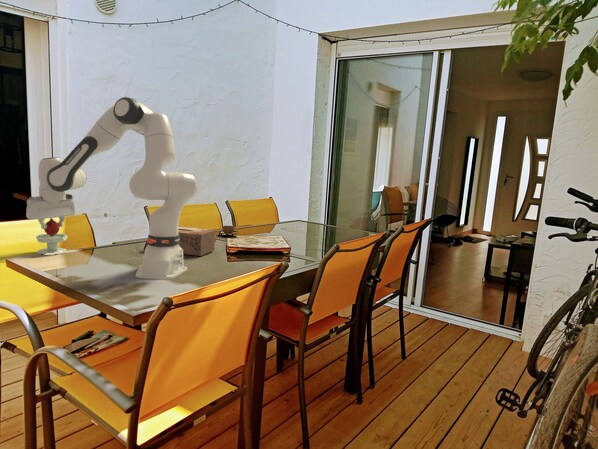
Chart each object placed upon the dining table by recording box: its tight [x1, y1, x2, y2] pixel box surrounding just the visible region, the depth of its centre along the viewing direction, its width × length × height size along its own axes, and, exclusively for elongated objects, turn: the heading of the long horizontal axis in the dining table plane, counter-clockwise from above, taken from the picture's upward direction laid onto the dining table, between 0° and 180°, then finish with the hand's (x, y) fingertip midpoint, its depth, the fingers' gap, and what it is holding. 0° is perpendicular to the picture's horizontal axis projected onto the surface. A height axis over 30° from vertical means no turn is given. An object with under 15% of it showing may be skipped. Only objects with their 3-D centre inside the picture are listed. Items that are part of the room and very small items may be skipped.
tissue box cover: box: [178, 226, 216, 257], centre depth 208 cm, size 26×14×10 cm, turn 77°
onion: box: [43, 218, 61, 237], centre depth 185 cm, size 6×6×8 cm
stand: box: [35, 233, 69, 255], centre depth 187 cm, size 11×11×8 cm
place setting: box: [217, 221, 239, 235], centre depth 263 cm, size 18×20×6 cm
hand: (52, 227), depth 185 cm, fingers closed on onion, 6 cm apart
